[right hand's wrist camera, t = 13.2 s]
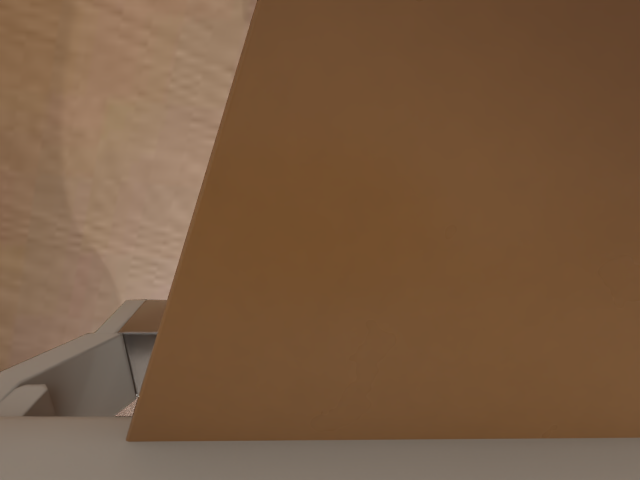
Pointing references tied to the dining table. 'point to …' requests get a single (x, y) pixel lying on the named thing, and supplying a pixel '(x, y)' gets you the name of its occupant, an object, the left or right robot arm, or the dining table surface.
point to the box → (413, 230)
